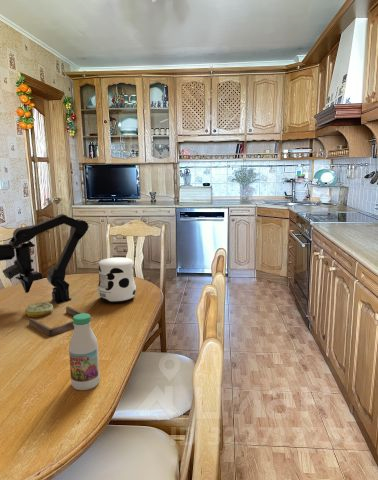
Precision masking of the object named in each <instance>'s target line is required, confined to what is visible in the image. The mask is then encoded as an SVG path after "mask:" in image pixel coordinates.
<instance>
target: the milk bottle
mask: <svg viewBox="0 0 378 480" xmlns="http://www.w3.org/2000/svg"><path fill="white" fill-rule="evenodd" d="M91 320H92V319H91V314H89V313H87V312H86V313H85V312H82V314H77V315H75V316H73V317H72V321H73V325H74V328H73V332H72V335H71V337H70V339H69V345H68V346H69V347H68V348H69V349H68V354H69V357H68V358H69V370H70V371H69V372H70V382H71V386H72V388H73V389H74V390H77V391H88V390H91V389H94V388H96V387H97V386H98V385H99V382H100V380H101V379H100V378H101V374H100V358H99V346H98V339H97V337H96V335H95V333H94V332H93V329H92V327H91V323H92V322H91Z"/></svg>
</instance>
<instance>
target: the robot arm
mask: <svg viewBox="0 0 378 480" xmlns="http://www.w3.org/2000/svg"><path fill="white" fill-rule="evenodd" d="M62 225H66V226H69V227H70V229H69V236H68V239H67V242H66V243H65V245H64V247H63V250H62V252H61V254H60V256H59V258H58V260H57V263H55V265H54V266H49V269H48V272H47V273H46V280H47V282H48V283H49V284H50V285H51V286H53V287H52V291H51V298H52V299H51V301H52V302H55V303H57V304H63V303H65V302H68V301H71V300H72V298H70V290H69V289H70V283H68V282H67V281H66V280H65V279H66V272H67V270H66V269H67V267H68V265H69V263H70V261H71V259H72V256H73V255H74V252H75V250H76V248H77V246H78V244H79V241H80V240H81V239H82V238H83V237H84V236H85V235H86V233H87V231H88V230H89V223H88V222H87V221H85V220H83V219H80V218H79V219H78V218H76V219H75V218H73V217H70V216H68V215H66V214H63V213H61V214H59V215H57V216H53V217H52V218H49V219H47V220H43V221H41V222H39V223H36V224H34V225H27V226H22V227H17V228H15V229H14V230H13V233H12V237H11V238H10V240H9V242H8V243H3V244H0V262H1V261H2V262H3V261H10V260H11V261H12V260H13V259H14V258H16V259H15V260H14V261H13V264H12V265H10V266H8V267H6V268H5V269H3V270H2V273H3V276H5V278H6V279H9V280H10V279H13V278H14V277H15V276H16V277H15V279H17V280H18V281H19V282H20V283H21V286H22V288H23V290H24V293H26V294H28V293H29V292H30V291H31V290H30V289H31V288H32V285H33V283H34V282H35V281H39V280H42V279H43V274H42V273H41V272H38V271H35V269H34V268H33V264H32V263H34V259H32V254H31V248H33V247H35V246H36V245H35V244H34V243H32V241H31V240H32V239H34V238H35V237H36V236H38V235H39V234H40V235H41V234H42V233H45V232H46V231H49V230H51V229H54V228H57V227H59V226H62Z"/></svg>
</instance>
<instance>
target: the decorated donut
mask: <svg viewBox="0 0 378 480" xmlns="http://www.w3.org/2000/svg"><path fill="white" fill-rule="evenodd" d="M53 310H54V306H53V304H52V303H50V302H47V301H46V302H45V301H43V302H36V303H32V304H29V305H28V306H26V307H25V314H26V316H27V317H29V318H41V317H42V318H43V317H46V316H48V315H49V314H51V313H52V312H53Z"/></svg>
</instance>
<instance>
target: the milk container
mask: <svg viewBox="0 0 378 480" xmlns="http://www.w3.org/2000/svg"><path fill="white" fill-rule="evenodd" d="M98 278H99V279H98V285H97V294H98V298H99V300H101V301H103V302H106V303H115V304H116V303H122V302H127V301H130V300H132V299H133V298H134V297H135V295H136V292H137V290H136V289H137V287H136V282H135V280H134V279H135V278H134V262H133V259H131V258H128V257H108V258H103V259H101V260H99V261H98Z"/></svg>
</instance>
